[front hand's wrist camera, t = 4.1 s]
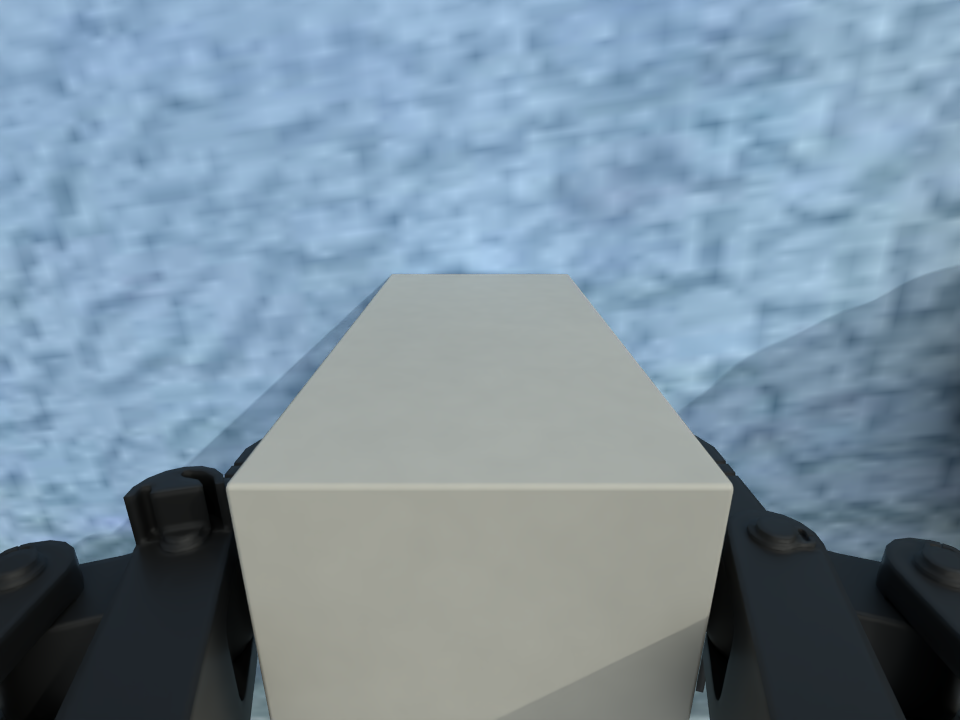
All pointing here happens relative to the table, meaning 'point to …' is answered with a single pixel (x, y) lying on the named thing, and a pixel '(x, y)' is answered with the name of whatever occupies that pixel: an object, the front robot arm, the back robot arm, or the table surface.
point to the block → (479, 518)
